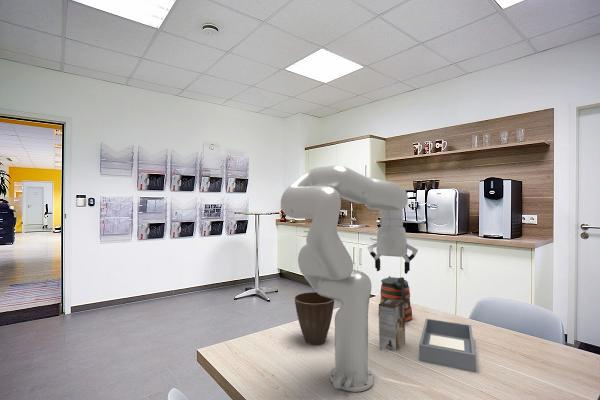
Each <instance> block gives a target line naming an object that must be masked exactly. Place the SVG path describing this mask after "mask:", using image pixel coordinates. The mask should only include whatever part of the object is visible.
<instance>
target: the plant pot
mask: <svg viewBox="0 0 600 400" xmlns="http://www.w3.org/2000/svg"><path fill="white" fill-rule="evenodd" d="M294 305H295V310H296V315H297V320H298V324H299V326H300V330H301V332H302V336H303V338H304V341H305V343H306V344H309V345H313V346H314V345H315V346H316V345H317V346H318V345H322V344H324V343H325V342H326V339H327V336H328V334H329V330H330V327H331V323H332V317H333V313H334V308H335V307H334V306H335V300H334V299H330V298H326V297H323V296H320V295H319V294H318V293H316V291H312V292H311V291H310V292H303V293H299V294H297V295H295V297H294Z"/></svg>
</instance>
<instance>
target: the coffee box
mask: <svg viewBox="0 0 600 400" xmlns="http://www.w3.org/2000/svg"><path fill="white" fill-rule="evenodd" d="M378 334H379V335H378V336H379V337H378V344H379V345H378V349H379V351H382V350H383V349H385V350H388V351H391V352H398V351H399V350H400V349H401V348H402V347H403V346H404V345H405V344H406V322H405V301H403V300H397V299H391V298H388V299H386V300H385V301H383V302H381V303H378Z"/></svg>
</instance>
